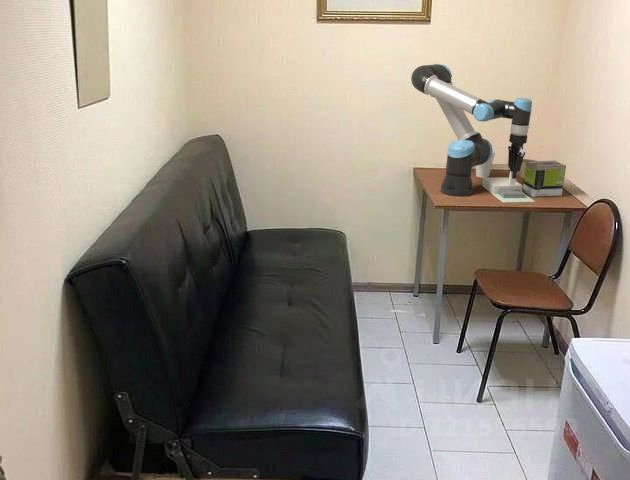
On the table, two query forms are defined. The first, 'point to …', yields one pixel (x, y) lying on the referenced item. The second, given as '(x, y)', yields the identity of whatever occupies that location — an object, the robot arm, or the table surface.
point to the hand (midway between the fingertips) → (511, 184)
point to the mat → (514, 199)
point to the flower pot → (524, 167)
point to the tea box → (544, 178)
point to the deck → (499, 184)
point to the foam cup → (485, 167)
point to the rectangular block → (511, 193)
